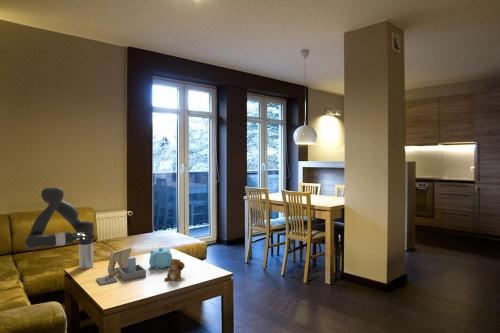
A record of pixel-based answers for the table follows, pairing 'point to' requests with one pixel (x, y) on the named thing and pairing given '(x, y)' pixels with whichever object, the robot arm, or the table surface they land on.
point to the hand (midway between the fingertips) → (92, 234)
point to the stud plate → (106, 280)
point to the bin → (133, 275)
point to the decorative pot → (160, 258)
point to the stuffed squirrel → (175, 270)
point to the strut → (131, 264)
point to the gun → (118, 260)
